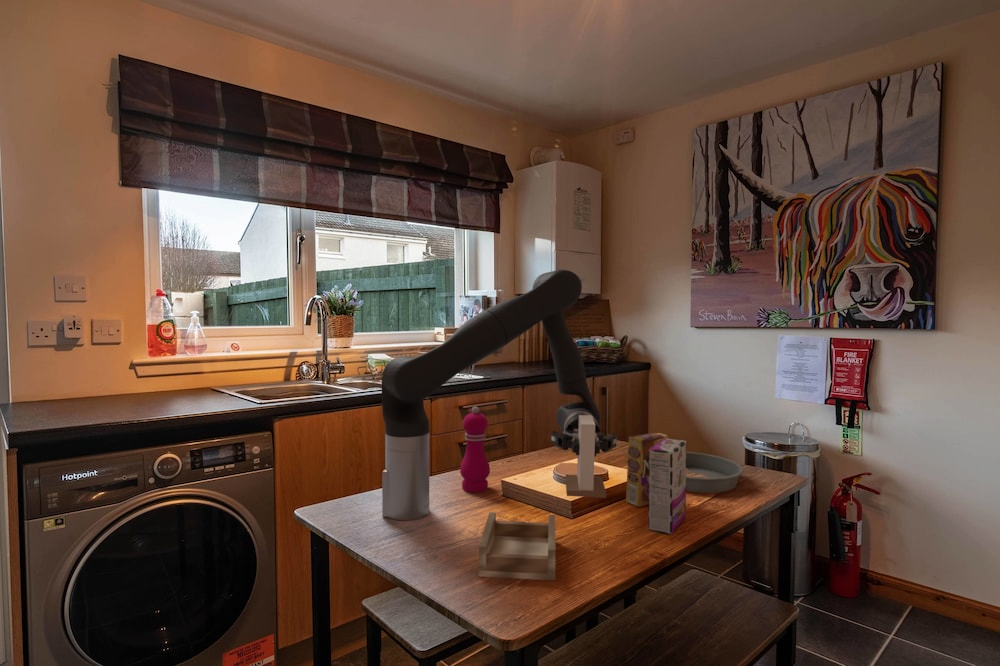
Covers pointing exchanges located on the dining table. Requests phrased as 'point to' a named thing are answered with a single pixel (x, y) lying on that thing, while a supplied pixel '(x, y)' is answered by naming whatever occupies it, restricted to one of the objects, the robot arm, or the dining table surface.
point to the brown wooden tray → (517, 549)
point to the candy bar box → (667, 485)
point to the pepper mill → (475, 453)
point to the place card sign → (585, 464)
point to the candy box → (640, 467)
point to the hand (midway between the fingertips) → (586, 450)
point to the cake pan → (711, 473)
